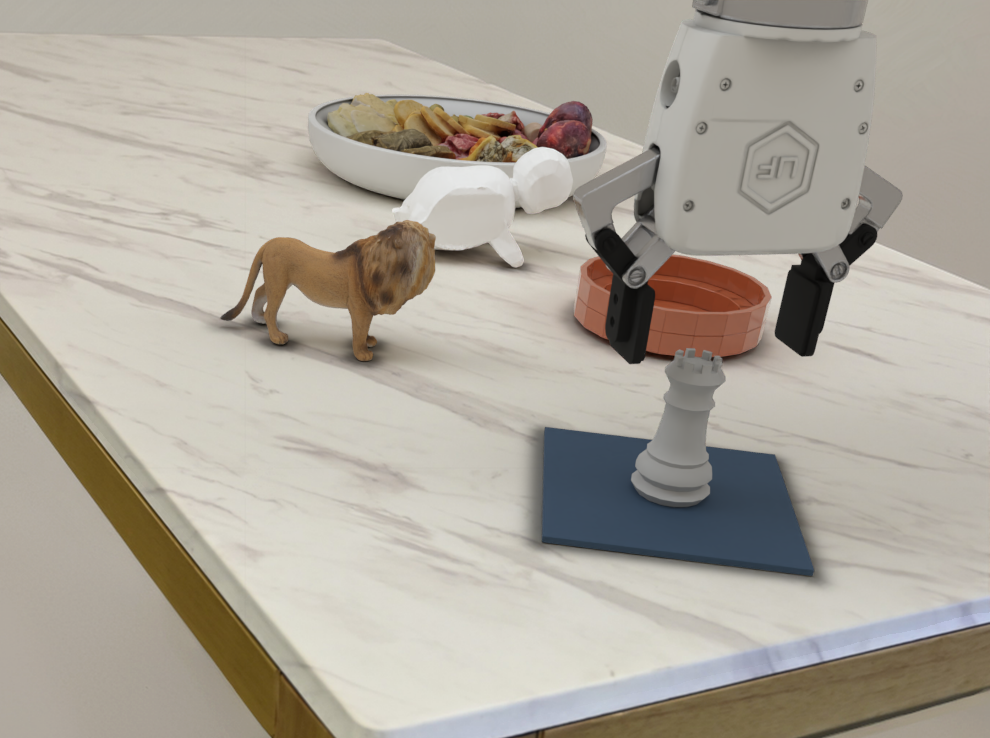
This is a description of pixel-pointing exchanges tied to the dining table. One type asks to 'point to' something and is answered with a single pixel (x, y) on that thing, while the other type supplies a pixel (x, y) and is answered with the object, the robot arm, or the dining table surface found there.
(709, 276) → the terracotta bowl
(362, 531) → the dining table surface
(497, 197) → the white animal figurine
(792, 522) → the dark blue square mat
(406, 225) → the lion figurine
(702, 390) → the rook chess piece
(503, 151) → the bowl
